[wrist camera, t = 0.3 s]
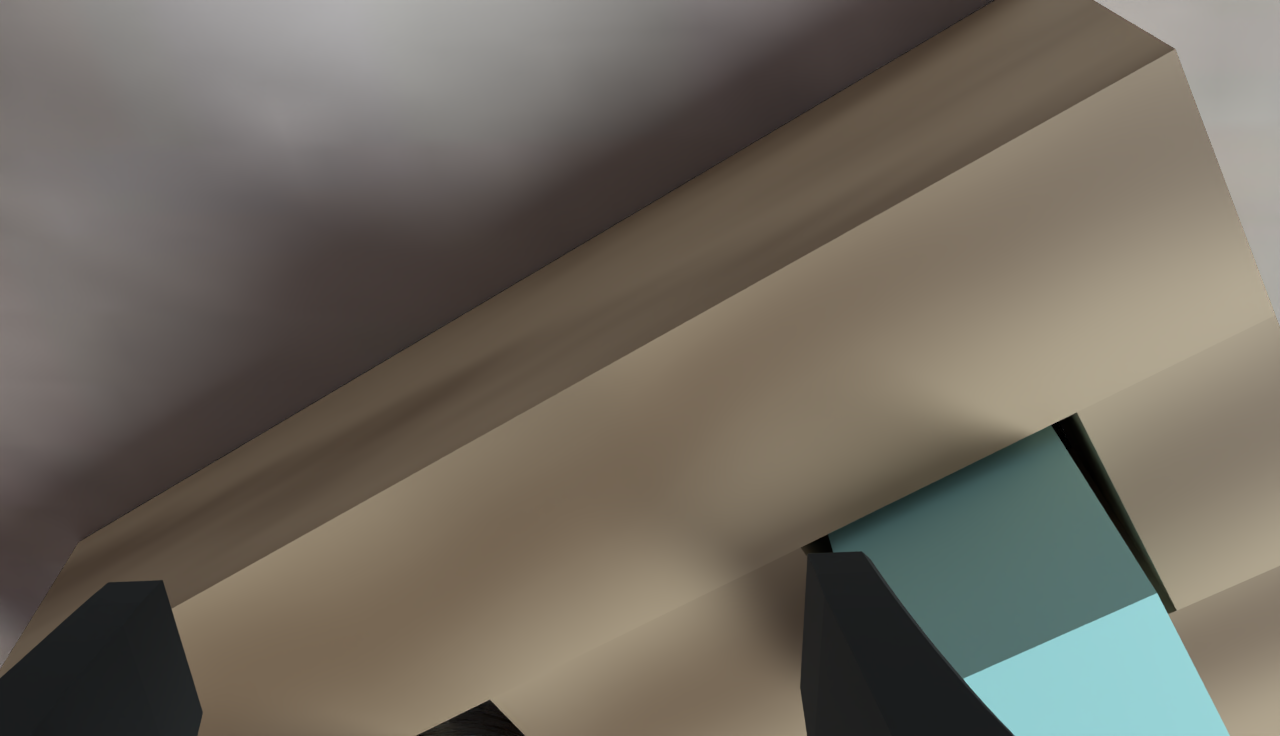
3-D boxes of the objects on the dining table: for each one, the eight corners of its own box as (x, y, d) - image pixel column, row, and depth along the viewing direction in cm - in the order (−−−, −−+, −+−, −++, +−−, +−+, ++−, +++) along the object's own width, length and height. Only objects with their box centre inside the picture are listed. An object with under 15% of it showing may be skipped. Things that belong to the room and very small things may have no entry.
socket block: (1279, 528, 25) (1419, 698, 21) (468, 888, 31) (447, 1083, 26) (1044, -30, 19) (1175, 48, 15) (78, 542, 24) (-33, 723, 20)
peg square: (1112, 549, 21) (1247, 769, 17) (914, 639, 22) (992, 870, 18) (1030, 391, 19) (1157, 592, 15) (817, 498, 20) (878, 715, 16)
